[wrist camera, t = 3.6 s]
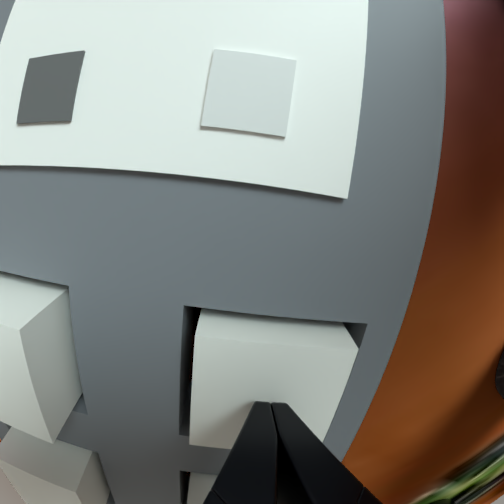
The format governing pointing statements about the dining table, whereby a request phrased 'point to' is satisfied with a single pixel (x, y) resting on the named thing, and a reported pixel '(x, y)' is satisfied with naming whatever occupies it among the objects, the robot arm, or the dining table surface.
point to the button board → (214, 193)
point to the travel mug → (500, 376)
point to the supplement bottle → (444, 501)
